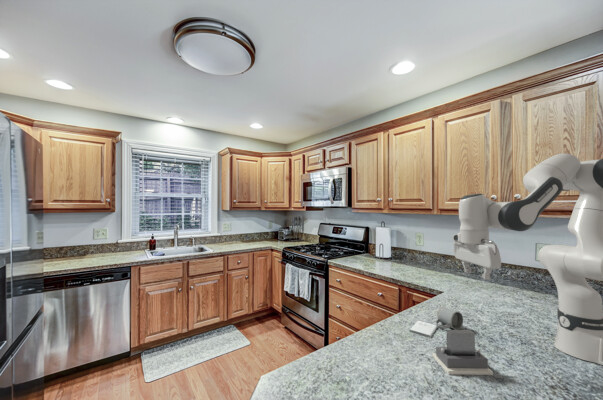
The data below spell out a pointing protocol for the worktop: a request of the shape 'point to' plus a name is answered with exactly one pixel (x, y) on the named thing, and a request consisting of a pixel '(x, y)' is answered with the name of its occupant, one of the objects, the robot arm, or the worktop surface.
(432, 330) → the external hard drive
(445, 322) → the ceramic mug
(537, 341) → the worktop surface
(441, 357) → the dock
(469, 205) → the robot arm
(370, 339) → the worktop surface
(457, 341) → the block
